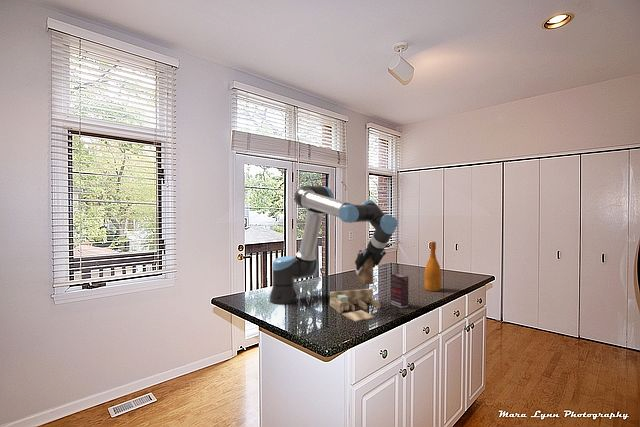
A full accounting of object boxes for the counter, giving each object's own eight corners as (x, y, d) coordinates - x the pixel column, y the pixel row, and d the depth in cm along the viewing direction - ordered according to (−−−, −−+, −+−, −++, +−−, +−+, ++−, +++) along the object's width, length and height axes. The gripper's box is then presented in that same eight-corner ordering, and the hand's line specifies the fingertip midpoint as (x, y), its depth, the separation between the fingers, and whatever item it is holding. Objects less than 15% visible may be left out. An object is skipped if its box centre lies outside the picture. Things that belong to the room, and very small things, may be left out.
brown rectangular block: (364, 284, 163) (364, 255, 163) (357, 281, 171) (357, 253, 171) (373, 283, 165) (373, 255, 165) (365, 280, 172) (365, 253, 172)
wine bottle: (442, 289, 213) (443, 241, 212) (438, 292, 204) (439, 242, 204) (426, 287, 218) (427, 240, 217) (422, 290, 210) (422, 241, 209)
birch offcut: (340, 311, 168) (340, 304, 168) (336, 307, 175) (336, 300, 175) (349, 310, 170) (349, 303, 169) (344, 306, 176) (344, 299, 176)
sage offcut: (340, 303, 169) (340, 297, 169) (337, 300, 174) (337, 295, 174) (348, 302, 170) (348, 297, 170) (344, 300, 175) (344, 294, 175)
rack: (339, 313, 164) (340, 299, 164) (329, 305, 178) (329, 291, 177) (384, 308, 172) (384, 295, 171) (371, 301, 185) (371, 288, 185)
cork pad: (355, 321, 152) (355, 320, 152) (342, 314, 162) (342, 313, 162) (375, 317, 158) (375, 316, 158) (361, 311, 167) (361, 310, 167)
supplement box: (408, 307, 175) (409, 276, 175) (401, 308, 173) (401, 277, 172) (397, 302, 183) (397, 273, 182) (390, 304, 180) (390, 274, 180)
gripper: (363, 250, 150) (347, 280, 166) (397, 248, 156) (379, 277, 172) (358, 237, 155) (343, 267, 171) (391, 236, 161) (374, 265, 177)
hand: (361, 272), depth 171 cm, fingers closed on brown rectangular block, 4 cm apart
